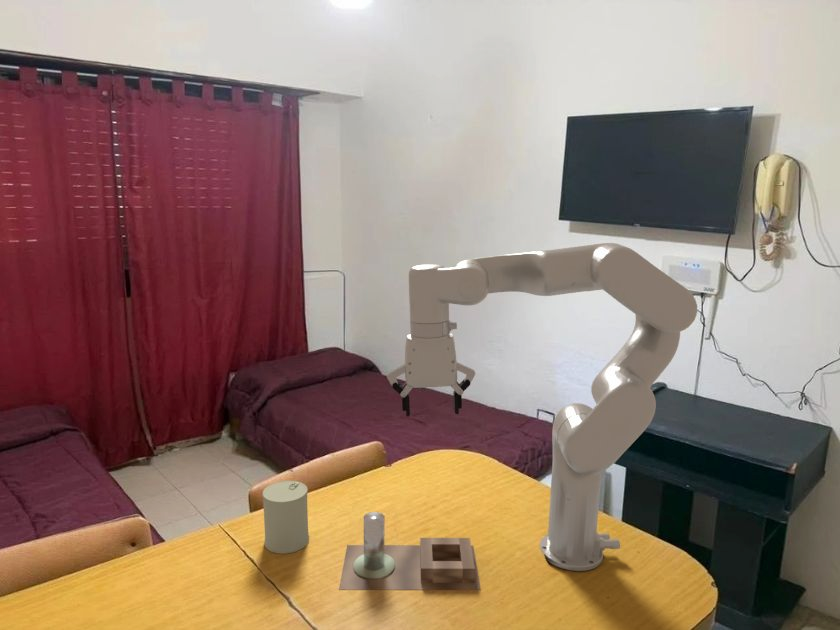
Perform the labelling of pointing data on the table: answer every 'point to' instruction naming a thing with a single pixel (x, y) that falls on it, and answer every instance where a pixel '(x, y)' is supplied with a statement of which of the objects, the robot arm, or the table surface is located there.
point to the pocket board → (415, 567)
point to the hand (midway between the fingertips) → (432, 412)
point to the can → (285, 516)
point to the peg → (374, 540)
